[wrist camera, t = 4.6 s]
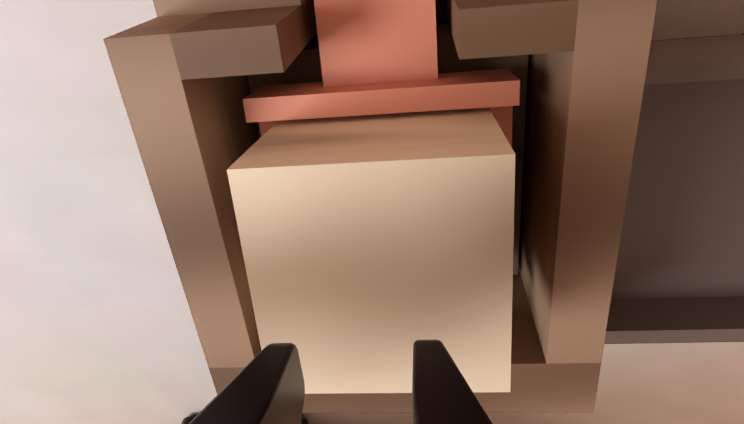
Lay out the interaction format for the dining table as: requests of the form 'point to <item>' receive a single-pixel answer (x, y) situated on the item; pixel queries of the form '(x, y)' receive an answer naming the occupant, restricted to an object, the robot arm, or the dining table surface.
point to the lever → (382, 70)
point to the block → (381, 245)
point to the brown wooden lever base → (454, 54)
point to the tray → (685, 200)
